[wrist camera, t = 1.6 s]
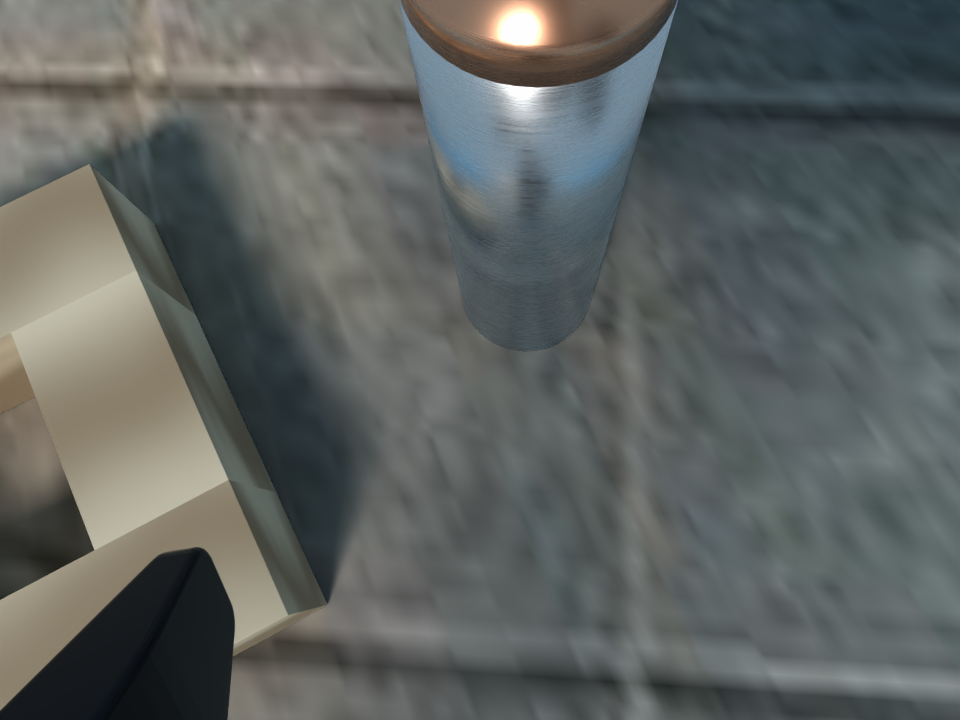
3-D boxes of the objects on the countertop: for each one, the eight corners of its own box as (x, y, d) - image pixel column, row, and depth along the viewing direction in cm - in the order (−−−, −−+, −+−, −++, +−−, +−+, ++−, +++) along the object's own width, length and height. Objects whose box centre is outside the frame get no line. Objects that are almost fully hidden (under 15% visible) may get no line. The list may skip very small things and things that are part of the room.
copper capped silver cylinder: (615, 313, 21) (761, -45, 9) (499, 374, 21) (475, 97, 8) (551, 207, 22) (597, -259, 9) (439, 265, 22) (333, -137, 9)
